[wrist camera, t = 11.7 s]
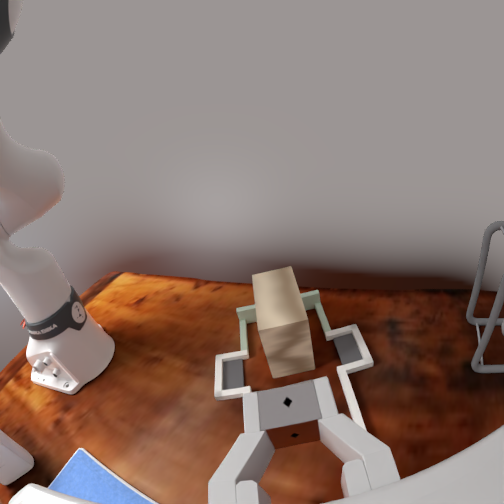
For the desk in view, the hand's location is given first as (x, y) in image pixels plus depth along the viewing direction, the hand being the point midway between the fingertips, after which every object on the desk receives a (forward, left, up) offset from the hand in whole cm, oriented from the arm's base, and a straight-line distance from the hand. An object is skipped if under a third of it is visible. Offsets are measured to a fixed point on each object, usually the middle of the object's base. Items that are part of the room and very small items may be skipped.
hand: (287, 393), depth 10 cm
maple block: (0, +26, -25) cm, 36 cm away
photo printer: (-47, +1, -25) cm, 53 cm away
